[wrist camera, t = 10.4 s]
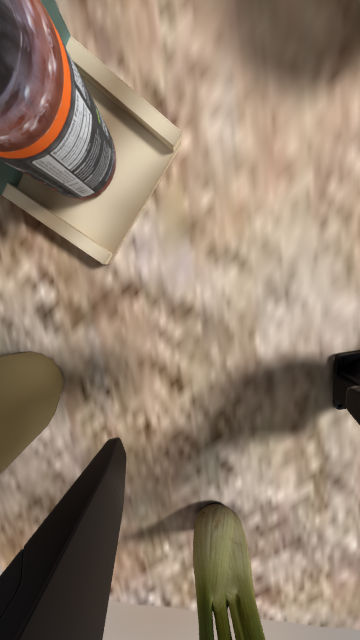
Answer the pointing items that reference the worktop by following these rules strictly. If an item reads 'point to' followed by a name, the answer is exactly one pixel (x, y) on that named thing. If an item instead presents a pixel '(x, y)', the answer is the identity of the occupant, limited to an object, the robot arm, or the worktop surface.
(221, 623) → the fennel bulb
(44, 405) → the squeeze bottle
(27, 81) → the supplement bottle
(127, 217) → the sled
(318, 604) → the worktop surface
